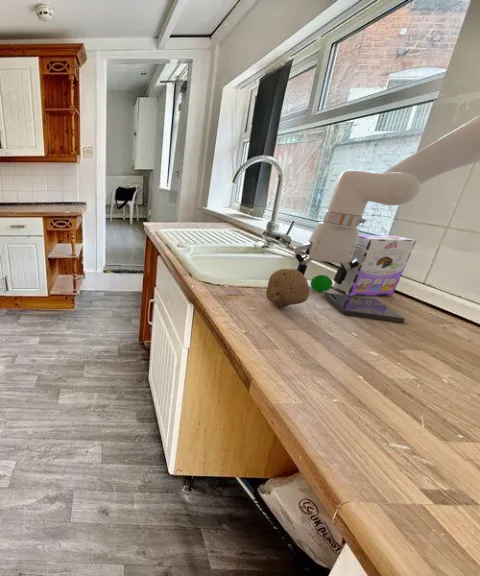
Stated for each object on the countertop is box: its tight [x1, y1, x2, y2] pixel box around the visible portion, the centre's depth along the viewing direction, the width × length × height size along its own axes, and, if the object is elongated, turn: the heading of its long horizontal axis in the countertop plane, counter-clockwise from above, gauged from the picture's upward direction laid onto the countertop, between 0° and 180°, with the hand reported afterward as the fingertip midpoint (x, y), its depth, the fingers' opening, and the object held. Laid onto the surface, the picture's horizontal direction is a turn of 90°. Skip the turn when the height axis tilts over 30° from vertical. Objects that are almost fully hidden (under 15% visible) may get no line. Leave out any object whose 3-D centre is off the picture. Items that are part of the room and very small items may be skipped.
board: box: [324, 292, 406, 324], centre depth 78 cm, size 12×12×1 cm
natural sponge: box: [265, 268, 311, 308], centre depth 75 cm, size 9×9×10 cm
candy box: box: [333, 234, 417, 297], centre depth 86 cm, size 14×6×16 cm, turn 94°
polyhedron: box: [310, 274, 333, 293], centre depth 88 cm, size 5×5×5 cm
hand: (317, 279), depth 88 cm, fingers open, 9 cm apart
